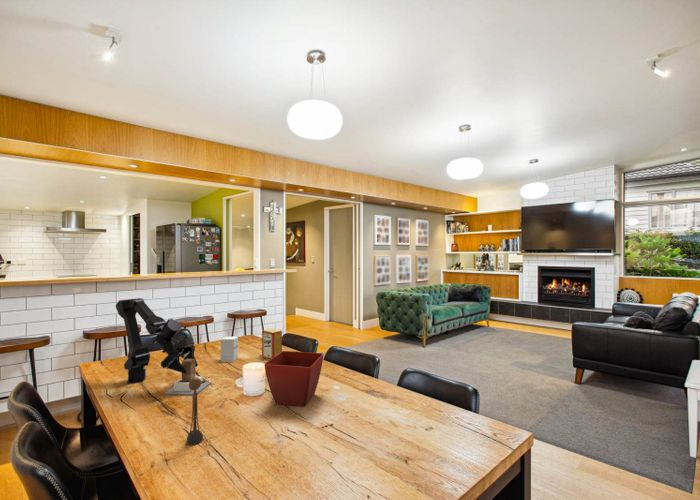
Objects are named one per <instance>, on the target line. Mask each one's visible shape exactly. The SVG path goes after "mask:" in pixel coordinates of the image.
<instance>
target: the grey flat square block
mask: <svg viewBox="0 0 700 500" xmlns="http://www.w3.org/2000/svg"><path fill="white" fill-rule="evenodd" d="M203 377H204V376H199V375H198V376H196V375H195V378H199V379H200V380H204V378H203ZM210 385H212V381H206V382H205V383H202V384H201V385H200V387H199V389H197V390H196V392H197V393H198V394H199V393H201V392H202V391H203V390H205V389H206V388H207V387H209V386H210ZM192 393H194V390H190V388H189V382H182V377H181V378H180V379H178V380H176V381H175V382H173V387H171V388H169V389H168V390H166V391H165V392H164V393H163V395H165V396H166V395H168V396H173V395H174V396H192Z"/></svg>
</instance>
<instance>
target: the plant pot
mask: <svg viewBox="0 0 700 500" xmlns="http://www.w3.org/2000/svg"><path fill="white" fill-rule="evenodd" d="M323 362H324V353H322V352H307V351H292V350H291V351H290V350H282V352H280V353H279V354H277V355H276V356H275V357H273V358H272V359H271V360H268V361H266V362H264V371H265V375H266V380H267V383H268V387H269V390H270V393H271V395H272V399H273V401H274V404H276V405H282V406H283V405H284V406H291V407H292V406H293V407H307V405H308V404H309V402H310V401H311V400H312V398H313V397H314V395H315V393H316V391H317V388H318V384H319V380H320V376H321V372H322V367H323Z"/></svg>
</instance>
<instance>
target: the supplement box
mask: <svg viewBox="0 0 700 500" xmlns="http://www.w3.org/2000/svg"><path fill="white" fill-rule="evenodd" d="M237 359H239V336H224V337H223V338H221V339H220V363H234V362H235V361H236V360H237Z"/></svg>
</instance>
